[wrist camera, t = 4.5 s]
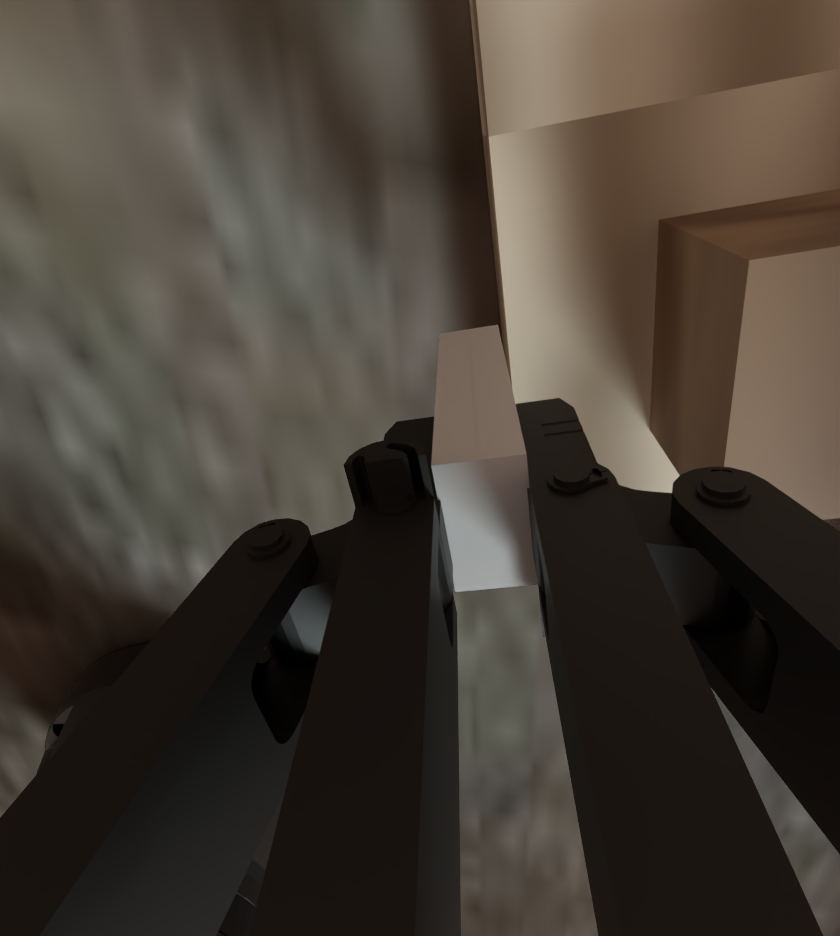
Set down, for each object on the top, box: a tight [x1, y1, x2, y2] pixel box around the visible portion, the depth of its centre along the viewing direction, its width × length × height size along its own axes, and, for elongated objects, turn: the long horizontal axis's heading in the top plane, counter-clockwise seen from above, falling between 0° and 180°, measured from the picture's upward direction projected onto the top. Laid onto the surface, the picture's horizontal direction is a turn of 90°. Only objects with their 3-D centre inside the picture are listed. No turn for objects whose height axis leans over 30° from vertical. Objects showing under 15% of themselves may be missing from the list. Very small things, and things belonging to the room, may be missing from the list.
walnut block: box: [650, 189, 840, 520], centre depth 13 cm, size 6×6×5 cm
